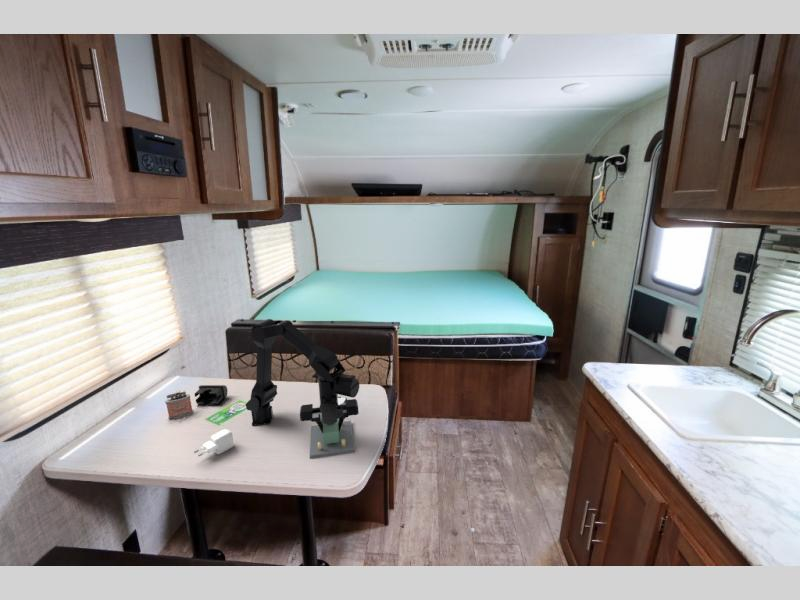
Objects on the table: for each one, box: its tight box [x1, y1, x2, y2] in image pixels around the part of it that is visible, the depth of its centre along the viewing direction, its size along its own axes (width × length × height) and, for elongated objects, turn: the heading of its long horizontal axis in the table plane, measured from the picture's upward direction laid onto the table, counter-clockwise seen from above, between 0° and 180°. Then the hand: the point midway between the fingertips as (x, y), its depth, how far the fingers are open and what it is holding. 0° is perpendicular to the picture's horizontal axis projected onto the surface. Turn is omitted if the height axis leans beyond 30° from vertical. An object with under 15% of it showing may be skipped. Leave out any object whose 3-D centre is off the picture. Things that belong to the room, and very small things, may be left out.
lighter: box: [164, 390, 194, 421], centre depth 138 cm, size 8×3×10 cm, turn 123°
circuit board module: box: [323, 420, 339, 444], centre depth 123 cm, size 5×9×4 cm, turn 11°
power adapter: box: [193, 428, 235, 457], centre depth 117 cm, size 11×5×6 cm, turn 143°
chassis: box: [309, 420, 355, 459], centre depth 124 cm, size 14×16×4 cm
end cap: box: [194, 384, 228, 407], centre depth 147 cm, size 10×7×7 cm
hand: (331, 431), depth 123 cm, fingers closed on circuit board module, 5 cm apart
